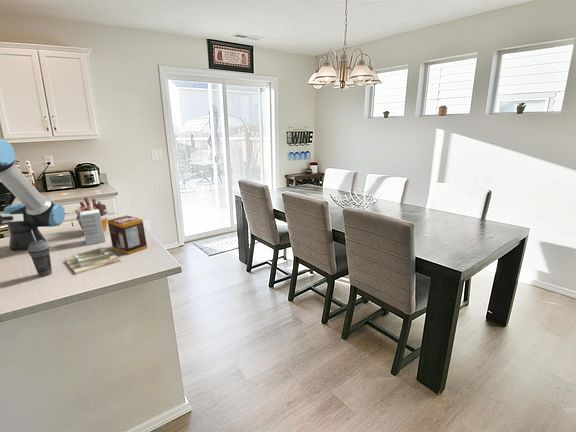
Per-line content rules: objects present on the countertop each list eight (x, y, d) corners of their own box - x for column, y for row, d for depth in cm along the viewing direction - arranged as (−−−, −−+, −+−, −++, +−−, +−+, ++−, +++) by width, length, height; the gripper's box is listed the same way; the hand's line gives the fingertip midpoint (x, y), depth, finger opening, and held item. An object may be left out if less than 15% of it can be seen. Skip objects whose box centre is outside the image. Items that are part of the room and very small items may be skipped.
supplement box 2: (131, 242, 169) (126, 214, 165) (147, 248, 160) (143, 219, 156) (112, 248, 161) (106, 219, 157) (128, 254, 152) (122, 224, 148)
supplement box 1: (106, 241, 171) (100, 212, 166) (86, 245, 166) (79, 215, 161) (104, 237, 178) (98, 208, 174) (85, 240, 173) (79, 211, 169)
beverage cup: (44, 279, 129) (32, 233, 124) (30, 277, 131) (17, 232, 125) (60, 271, 136) (49, 227, 131) (46, 270, 138) (35, 227, 132)
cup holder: (65, 261, 146) (63, 254, 145) (107, 250, 159) (105, 243, 158) (75, 274, 133) (74, 266, 132) (120, 261, 145) (119, 254, 144)
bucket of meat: (114, 232, 187) (107, 199, 181) (82, 238, 177) (74, 204, 171) (107, 224, 202) (101, 194, 196) (77, 230, 192) (70, 199, 186)
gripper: (-70, 231, 113) (5, 225, 131) (-52, 234, 100) (29, 227, 118) (-73, 211, 113) (3, 207, 131) (-55, 211, 100) (27, 207, 117)
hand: (16, 217), depth 124 cm, fingers open, 13 cm apart
